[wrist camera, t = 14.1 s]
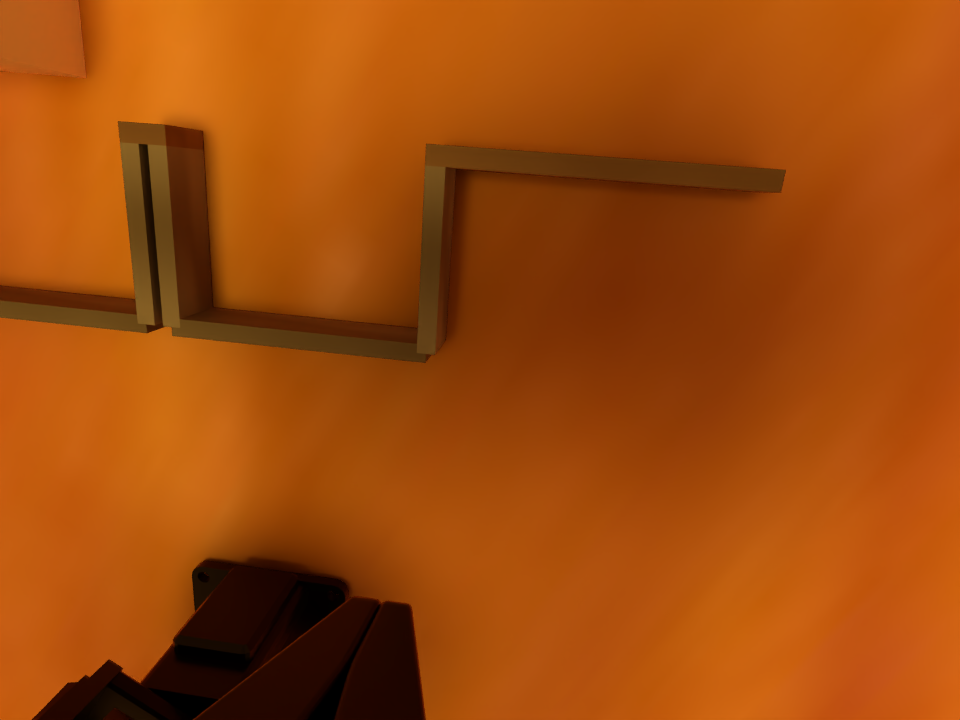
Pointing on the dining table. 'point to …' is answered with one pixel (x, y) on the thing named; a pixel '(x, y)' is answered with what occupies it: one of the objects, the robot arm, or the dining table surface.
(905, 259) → the dining table surface
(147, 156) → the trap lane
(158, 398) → the dining table surface
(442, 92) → the dining table surface
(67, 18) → the cream block
